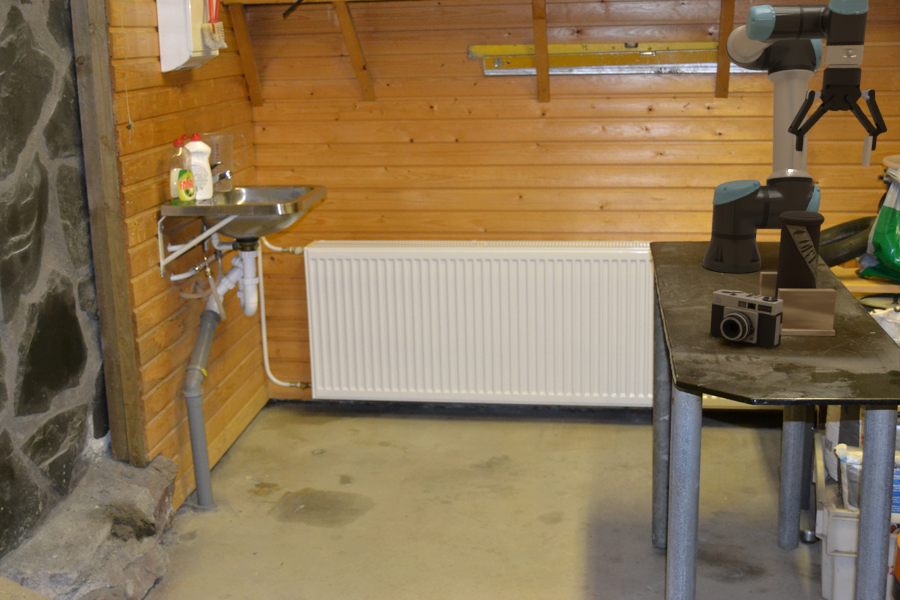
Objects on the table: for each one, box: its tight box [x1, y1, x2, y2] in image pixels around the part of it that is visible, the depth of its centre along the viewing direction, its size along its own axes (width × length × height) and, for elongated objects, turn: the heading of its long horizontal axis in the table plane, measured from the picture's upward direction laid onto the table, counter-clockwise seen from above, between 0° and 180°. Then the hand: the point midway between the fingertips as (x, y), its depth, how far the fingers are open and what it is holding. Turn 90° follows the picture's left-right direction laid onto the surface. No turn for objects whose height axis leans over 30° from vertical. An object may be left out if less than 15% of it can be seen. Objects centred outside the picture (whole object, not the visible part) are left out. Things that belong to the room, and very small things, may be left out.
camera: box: [709, 288, 783, 350], centre depth 178 cm, size 14×9×10 cm, turn 37°
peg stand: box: [758, 271, 837, 337], centre depth 191 cm, size 20×11×9 cm, turn 175°
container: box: [775, 211, 825, 299], centre depth 188 cm, size 9×9×20 cm
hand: (833, 166), depth 196 cm, fingers open, 13 cm apart
